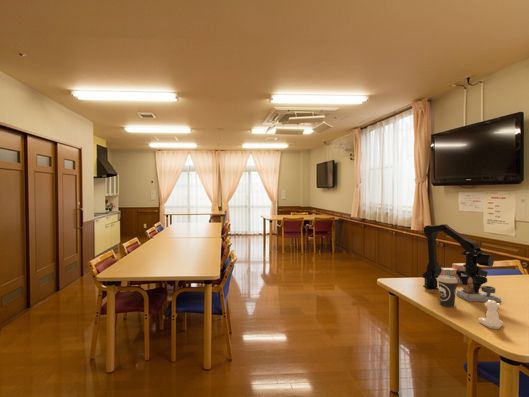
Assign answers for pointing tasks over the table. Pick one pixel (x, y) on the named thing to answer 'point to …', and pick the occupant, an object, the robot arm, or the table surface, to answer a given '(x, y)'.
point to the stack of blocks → (454, 271)
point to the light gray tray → (477, 296)
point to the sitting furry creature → (491, 315)
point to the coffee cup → (447, 290)
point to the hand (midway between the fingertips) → (470, 290)
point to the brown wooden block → (469, 289)
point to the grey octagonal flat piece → (488, 289)
